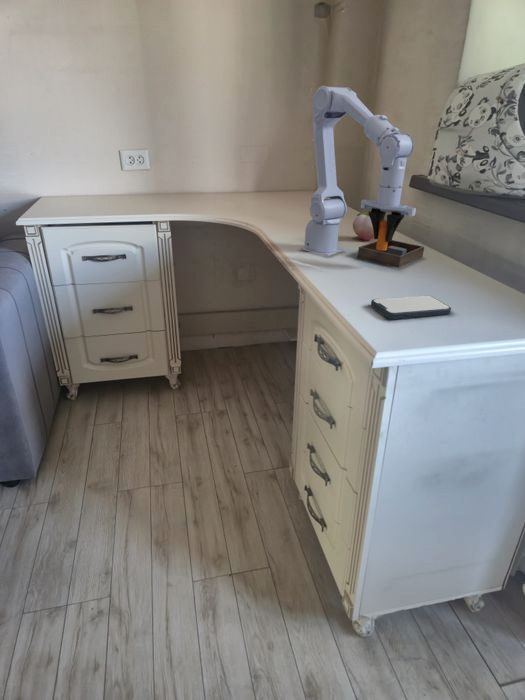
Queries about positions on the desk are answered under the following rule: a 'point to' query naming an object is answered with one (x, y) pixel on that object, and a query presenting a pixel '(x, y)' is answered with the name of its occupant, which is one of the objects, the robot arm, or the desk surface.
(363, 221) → the decorative fruit
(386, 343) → the desk surface
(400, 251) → the eraser
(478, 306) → the desk surface
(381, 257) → the box
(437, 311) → the phone case
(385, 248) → the glue stick
